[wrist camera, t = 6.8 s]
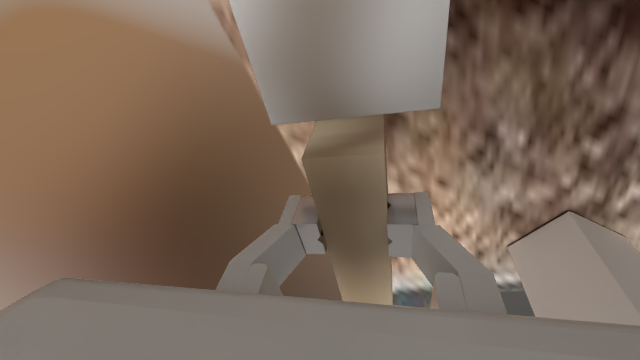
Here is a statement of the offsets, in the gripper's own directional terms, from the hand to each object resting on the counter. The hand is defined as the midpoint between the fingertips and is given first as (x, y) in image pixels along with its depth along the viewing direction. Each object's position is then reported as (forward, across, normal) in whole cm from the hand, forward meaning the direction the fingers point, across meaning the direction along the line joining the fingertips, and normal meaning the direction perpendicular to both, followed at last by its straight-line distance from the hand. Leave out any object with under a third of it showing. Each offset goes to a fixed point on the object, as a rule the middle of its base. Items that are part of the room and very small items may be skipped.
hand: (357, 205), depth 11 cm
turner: (+2, 0, -2) cm, 2 cm away
